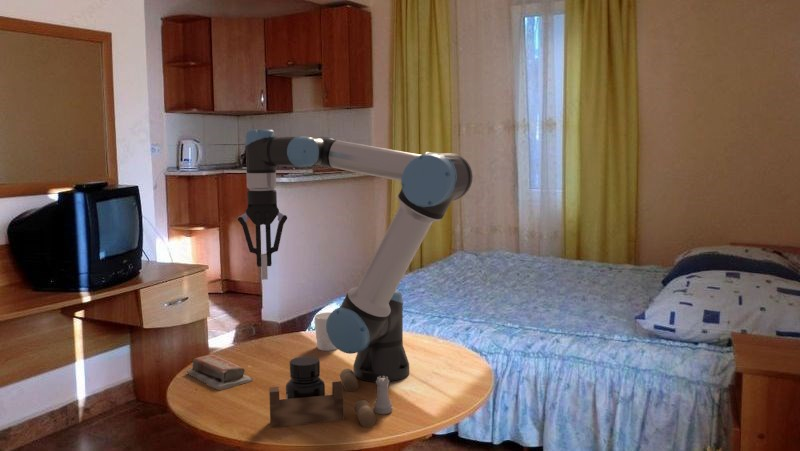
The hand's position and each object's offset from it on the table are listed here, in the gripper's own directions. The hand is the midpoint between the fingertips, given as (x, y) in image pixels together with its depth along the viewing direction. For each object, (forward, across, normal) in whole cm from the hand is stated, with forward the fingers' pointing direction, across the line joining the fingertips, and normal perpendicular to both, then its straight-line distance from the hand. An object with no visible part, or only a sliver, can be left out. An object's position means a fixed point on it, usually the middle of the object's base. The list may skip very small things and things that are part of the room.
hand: (264, 278), depth 179 cm
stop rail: (+26, -8, +34) cm, 43 cm away
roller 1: (+27, -20, +14) cm, 36 cm away
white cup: (+27, -19, -21) cm, 39 cm away
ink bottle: (+27, -8, +28) cm, 39 cm away
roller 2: (+27, -20, +36) cm, 49 cm away
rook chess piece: (+27, -25, +32) cm, 49 cm away
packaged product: (+27, +13, -1) cm, 30 cm away
